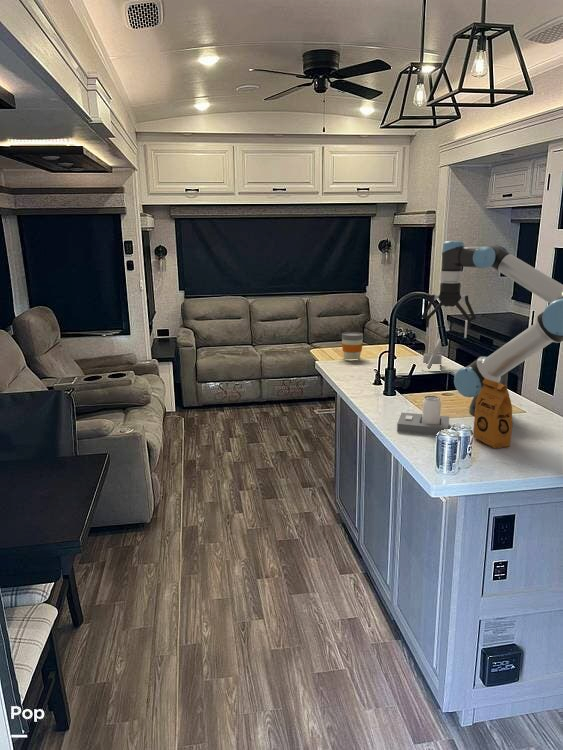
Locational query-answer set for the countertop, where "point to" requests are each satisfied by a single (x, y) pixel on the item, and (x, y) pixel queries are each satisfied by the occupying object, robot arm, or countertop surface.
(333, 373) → the countertop surface
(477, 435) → the coffee package
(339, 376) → the countertop surface
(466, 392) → the robot arm
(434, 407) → the can
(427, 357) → the phone holder
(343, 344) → the reusable coffee cup
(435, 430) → the socket plate
